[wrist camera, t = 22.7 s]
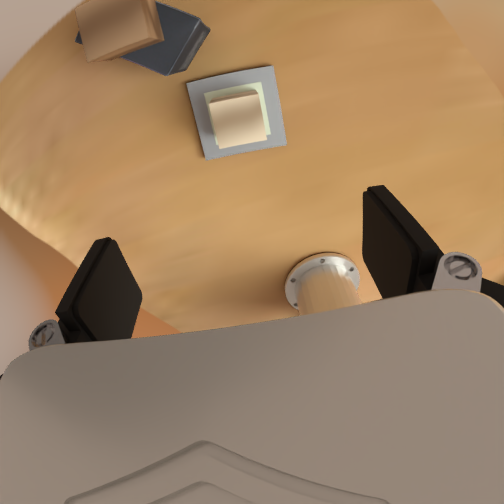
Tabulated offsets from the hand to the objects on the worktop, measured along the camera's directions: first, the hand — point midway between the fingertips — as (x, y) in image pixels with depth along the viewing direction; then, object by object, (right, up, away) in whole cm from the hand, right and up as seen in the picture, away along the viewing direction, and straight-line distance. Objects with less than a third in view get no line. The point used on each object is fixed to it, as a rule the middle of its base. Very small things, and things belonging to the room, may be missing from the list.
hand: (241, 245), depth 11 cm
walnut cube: (-10, +19, +8) cm, 23 cm away
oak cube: (-1, +16, +22) cm, 27 cm away
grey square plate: (-1, +16, +23) cm, 28 cm away
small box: (-10, +25, +17) cm, 32 cm away
